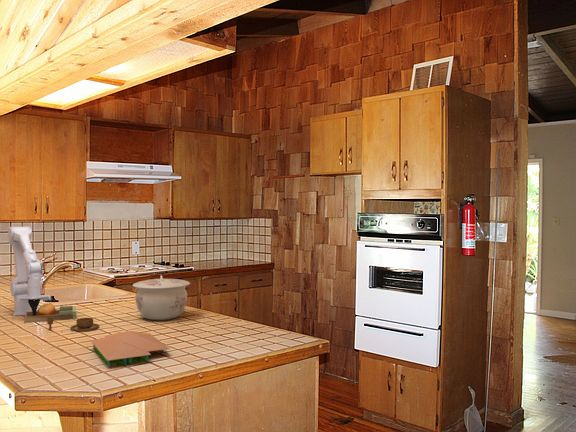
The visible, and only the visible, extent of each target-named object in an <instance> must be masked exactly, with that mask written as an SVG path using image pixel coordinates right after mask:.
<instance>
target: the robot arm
mask: <svg viewBox="0 0 576 432" xmlns="http://www.w3.org/2000/svg"><path fill="white" fill-rule="evenodd" d="M32 231H33V230H32V227H31V226H29V225H28V226H10V227H9V228H8V230H7V235H8V244H9V245H11V246H12V250H13V258H14V259H13V260H14V268H15V278H13V279H12V280H10V281H11V282H10V287H9V291H10V295H11V296H12V297H13V298H14V301H13V302H14V305H13V306H14V312H13V314H12V316H14V317H15V316H26V312H32V313H33V316H35V315H36V311H37V310H38V308H39V307H38V306H40V305H39V304H40V303H41V301H42V300H44V301H45V300H51V299H52V296H51V295H50V294H42V293H41V292H42V291H41V290H42V287H41V286H42V285H41V284H42V283H41V280H42V279H41V275H42V273H43V263H42V261H40V259H39V258H38V256H37V252H36V251H35V250H34V249H33V248H32V244H31V238H32V235H33V232H32Z"/></svg>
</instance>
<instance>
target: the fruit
mask: <svg viewBox="0 0 576 432" xmlns="http://www.w3.org/2000/svg"><path fill="white" fill-rule="evenodd" d="M56 310H57V309H56V306H55V304H53V303H45V304H42V305H41V306H40V305H39V307H38V308H37V311H38V314H39V316H43V315H55V311H56Z"/></svg>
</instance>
